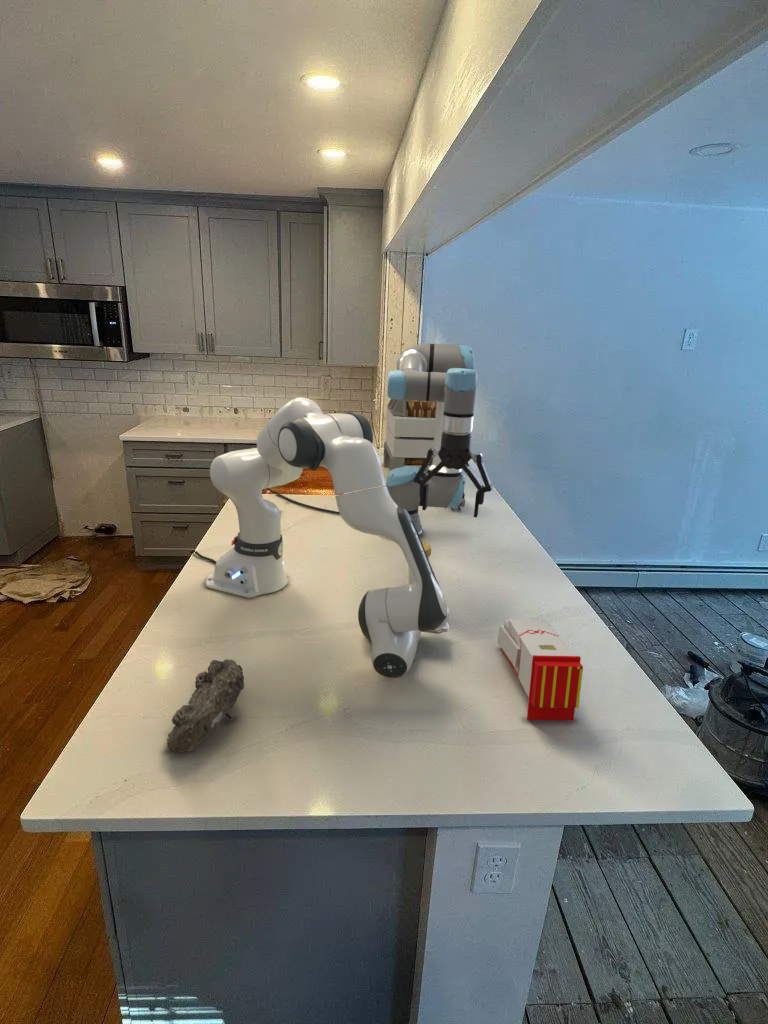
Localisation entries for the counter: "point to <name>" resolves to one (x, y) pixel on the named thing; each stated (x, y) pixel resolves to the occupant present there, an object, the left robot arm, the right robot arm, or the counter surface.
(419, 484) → the right robot arm
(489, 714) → the counter surface
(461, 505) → the figurine character
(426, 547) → the lid
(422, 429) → the white slatted box
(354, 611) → the counter surface
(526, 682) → the toy
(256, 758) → the counter surface
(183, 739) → the fossil
